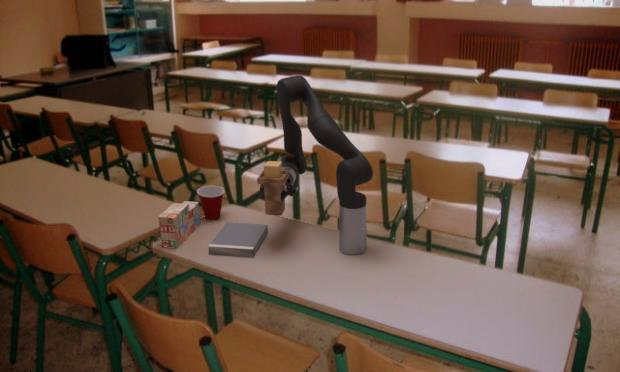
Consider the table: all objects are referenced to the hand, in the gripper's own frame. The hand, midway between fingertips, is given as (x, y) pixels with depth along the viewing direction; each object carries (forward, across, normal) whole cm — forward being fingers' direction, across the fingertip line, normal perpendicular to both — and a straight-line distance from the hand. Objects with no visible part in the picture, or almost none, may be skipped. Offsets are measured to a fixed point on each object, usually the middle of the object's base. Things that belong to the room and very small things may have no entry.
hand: (272, 197), depth 190 cm
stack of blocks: (-6, -37, +20) cm, 43 cm away
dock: (-2, -14, +20) cm, 24 cm away
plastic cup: (-22, -31, +20) cm, 43 cm away
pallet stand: (-3, 0, +6) cm, 7 cm away
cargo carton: (-3, 0, -6) cm, 7 cm away
